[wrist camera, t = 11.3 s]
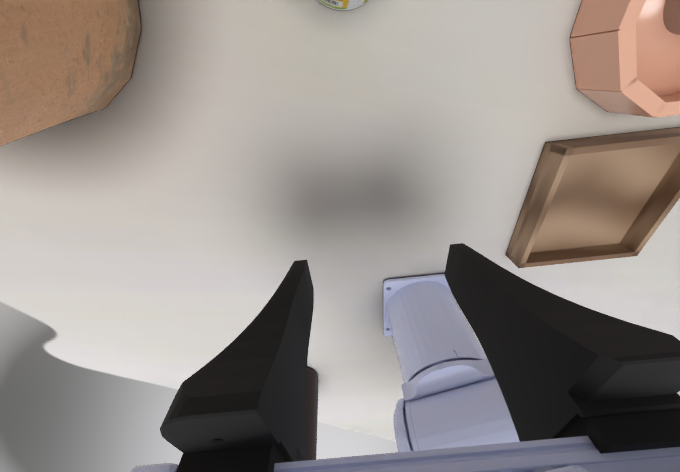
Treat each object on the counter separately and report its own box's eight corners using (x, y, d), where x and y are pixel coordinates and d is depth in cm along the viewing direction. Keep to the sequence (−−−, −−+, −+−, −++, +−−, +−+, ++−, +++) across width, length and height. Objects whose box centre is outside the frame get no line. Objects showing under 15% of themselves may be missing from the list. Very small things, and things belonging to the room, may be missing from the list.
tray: (615, 243, 24) (636, 255, 23) (505, 254, 25) (518, 268, 23) (692, 125, 18) (729, 130, 17) (545, 142, 19) (567, 148, 17)
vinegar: (272, 362, 34) (217, 644, 17) (320, 364, 34) (314, 635, 18) (272, 386, 37) (227, 637, 21) (316, 387, 38) (307, 630, 21)
